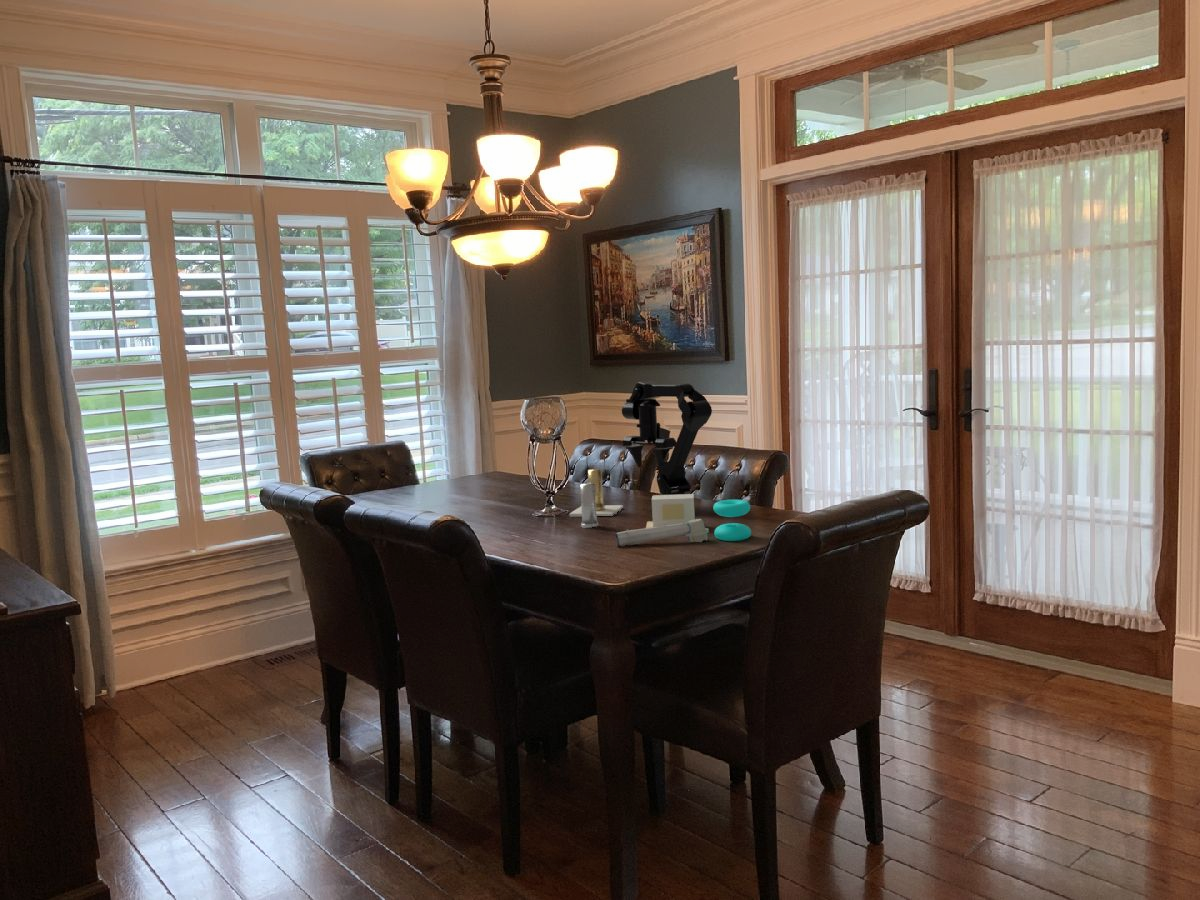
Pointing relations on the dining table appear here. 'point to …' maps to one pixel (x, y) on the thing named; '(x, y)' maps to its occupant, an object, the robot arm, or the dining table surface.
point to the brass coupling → (597, 487)
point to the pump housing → (671, 509)
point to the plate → (608, 511)
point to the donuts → (732, 529)
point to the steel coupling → (588, 505)
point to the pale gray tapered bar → (664, 533)
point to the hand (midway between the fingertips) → (650, 468)
